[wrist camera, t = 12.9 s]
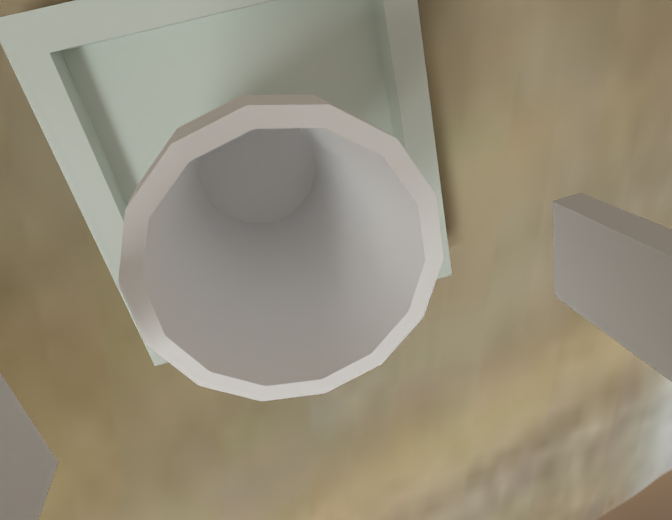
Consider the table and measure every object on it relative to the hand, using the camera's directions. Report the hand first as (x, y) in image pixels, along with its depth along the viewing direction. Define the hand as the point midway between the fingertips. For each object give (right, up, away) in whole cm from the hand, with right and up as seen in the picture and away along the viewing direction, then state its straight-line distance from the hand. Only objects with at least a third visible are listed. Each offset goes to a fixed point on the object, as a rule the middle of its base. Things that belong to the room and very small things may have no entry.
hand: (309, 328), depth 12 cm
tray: (-3, +7, +15) cm, 17 cm away
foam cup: (-4, +7, +14) cm, 16 cm away
